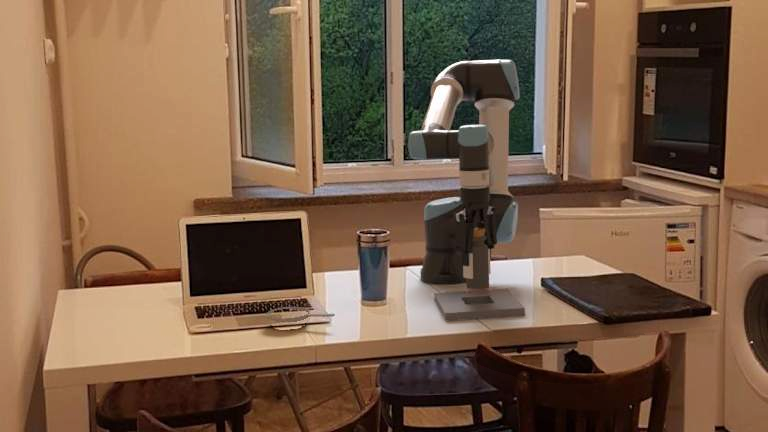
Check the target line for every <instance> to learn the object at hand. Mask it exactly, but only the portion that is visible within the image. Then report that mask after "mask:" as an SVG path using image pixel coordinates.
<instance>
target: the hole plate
mask: <svg viewBox="0 0 768 432" xmlns="http://www.w3.org/2000/svg"><path fill="white" fill-rule="evenodd" d="M433 295H434V296H433V297H434V298H433V300H434V302H435V304H436V306H437V309H438V310H439V309H440V310H439V311H441V312H440V313H442V314H441V315H442V317H443V316H444V317H443V319H444V318H445V319H444V321H445V320H453V321H459V320H458V319H468V320H479V319H480V318H483V319H495V318H496V317H497V318H509V317H525V316H526V308H525V306H524V305H523V304H522V303H521V302H520V301H519V300H518V298H517V297H516V296H515V294H514V293H512V292H511V290H510V289H509V288H496V289H495V288H494V289H493V288H492V289H491V288H490V289H489V290H476V291H467V290H466V291H465V290H463V291H449V292H447V291H446V292H434V294H433Z"/></svg>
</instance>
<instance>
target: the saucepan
mask: <svg viewBox="0 0 768 432" xmlns="http://www.w3.org/2000/svg"><path fill="white" fill-rule="evenodd" d="M281 309H299V310H303V311H306V312H308V314H306V315H304V316H300V317H295V318H285V319H281V318H272V317H269V316H268V314H270V313H272V312H274V311H277V310H281ZM310 311H311V310H310V309H309V308H307V307H302V306H283V307H277V308H274V309H271V310H269V311H267V313H266V319H267V318H268V319H270V320H273V321H276V322H289V323H290V322H297V321H301V320H304V319H306V318H308V317H309V318H310V317H315V318H316V317H319V318H320V317H324V318H325V317H330V318H331V317H332V318H333V317H334V316H336V315H335V313H310Z"/></svg>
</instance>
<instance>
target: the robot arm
mask: <svg viewBox="0 0 768 432" xmlns="http://www.w3.org/2000/svg"><path fill="white" fill-rule="evenodd" d="M520 93H521V92H520V86H519V77H518V71H517V67H516V63H515V62H514V61H513V60H511V59H501V58H498V59H485V60H483V59H482V60H481V59H479V60H462V61H458V62H455V63H453V64H451V65H448V66H447V67H446V68H445V69H443V70H442V71H441V72H440V73H439V74H438V75H437V76H436V77H435V79H434V80H433V82H432V84H431V88H430V96H431V99H430V101H429V106H428V107H427V111H426V113H425V117H424V119H423V123H422V126H421V129H420V130H419V129H418V130H416V131H415V130H414V131H411V132H410V133H409V135H408V144H407V145H408V147H407V148H408V153H409V157H410V158H411V159H412V160H423V161H426V160H457V159H458V161H459V163H458V165H459V168H458V169H459V170H458V171H459V186H461V187H460V188H459V196H453V197H452V196H451V197H444V198H440V199H435V200H432V201H430V202H428V203H427V204H426V205H425V206H424V213H423V214H424V216H423V217H424V218H423V221H424V240H425V242H424V243H425V254H424V258H423V262H422V266H421V267H422V268H420V272H419V273H420V280H421V281H422V282H425V283H429V284H437V285H439V284H440V285H441V284H442V285H445V284H446V285H447V284H448V285H449V284H458V283H464V282H466V278H469V279H473V253H470V250H471V244H472V238H473V233H474V228H485V234H484V235H486V240H484V243H485V244H486V245H487V246H488V266H489V275H491V273H492V271H491V260H492V249H495V247H496V246H495V245H497V244H504V243H505V244H507V243H510V242H512V241H513V240H514V238H515V235H516V230H517V226H518V219H519V218H518V217H519V203H518V202H517V201H514V196H513V195H512V194H511V192H510V191H509V142H510V141H509V140H510V139H509V136H510V135H509V133H510V129H509V127H510V110H512V109H513V108H514V107H515V101H517V100H519V99H520V97H521V95H520ZM463 101H474V107H475V108H476V109H477V110H478V111H479V119H478V123H479V124H465V125H461V126H459V128H458V129H457V130H455V129H453V130H452V129H451V126H452V123H453V120H454V116H455V113H456V110H457V106H458V105H459V104H460V103H462V102H463ZM465 247H466V248H465Z"/></svg>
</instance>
